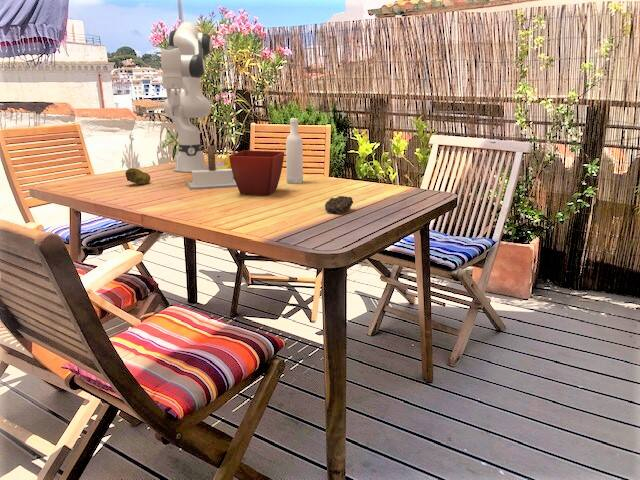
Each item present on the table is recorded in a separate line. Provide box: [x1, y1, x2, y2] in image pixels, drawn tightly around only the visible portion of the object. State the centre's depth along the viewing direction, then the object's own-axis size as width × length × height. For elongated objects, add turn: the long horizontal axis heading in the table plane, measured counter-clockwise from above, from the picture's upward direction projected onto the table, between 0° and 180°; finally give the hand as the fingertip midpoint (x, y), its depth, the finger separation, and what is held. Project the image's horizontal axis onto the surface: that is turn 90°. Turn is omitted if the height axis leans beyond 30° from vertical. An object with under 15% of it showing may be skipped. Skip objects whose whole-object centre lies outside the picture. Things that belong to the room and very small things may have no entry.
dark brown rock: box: [324, 195, 354, 215], centre depth 195 cm, size 12×10×5 cm
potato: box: [125, 167, 151, 186], centre depth 245 cm, size 8×13×8 cm, turn 136°
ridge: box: [186, 169, 238, 191], centre depth 243 cm, size 14×22×7 cm, turn 110°
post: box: [206, 145, 216, 171], centre depth 241 cm, size 3×3×11 cm
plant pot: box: [228, 149, 285, 196], centre depth 226 cm, size 19×19×17 cm
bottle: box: [285, 117, 304, 185], centre depth 248 cm, size 8×8×30 cm
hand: (175, 116), depth 238 cm, fingers open, 8 cm apart
